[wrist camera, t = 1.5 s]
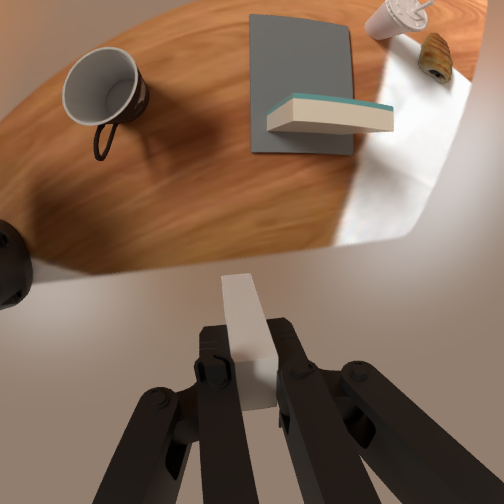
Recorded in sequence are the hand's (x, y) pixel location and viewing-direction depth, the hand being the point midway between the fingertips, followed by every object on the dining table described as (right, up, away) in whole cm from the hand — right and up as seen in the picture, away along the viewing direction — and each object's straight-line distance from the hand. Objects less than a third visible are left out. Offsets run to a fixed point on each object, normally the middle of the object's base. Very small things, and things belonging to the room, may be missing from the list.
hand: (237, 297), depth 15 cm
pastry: (+31, +35, +18) cm, 50 cm away
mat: (+8, +25, +18) cm, 31 cm away
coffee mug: (-16, +21, +16) cm, 31 cm away
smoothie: (+19, +36, +16) cm, 44 cm away
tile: (+8, +19, +19) cm, 28 cm away
